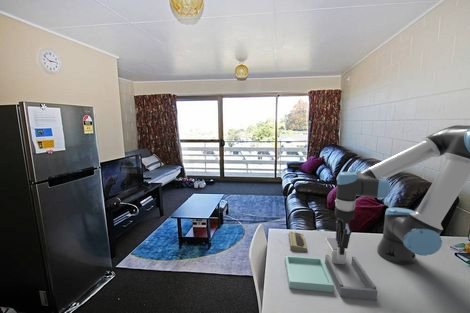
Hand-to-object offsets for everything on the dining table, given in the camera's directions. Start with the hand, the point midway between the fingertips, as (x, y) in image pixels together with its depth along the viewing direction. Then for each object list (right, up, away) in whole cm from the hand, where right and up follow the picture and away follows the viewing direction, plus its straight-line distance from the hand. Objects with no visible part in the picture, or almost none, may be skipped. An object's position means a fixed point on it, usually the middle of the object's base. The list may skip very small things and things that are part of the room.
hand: (340, 259), depth 106 cm
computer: (-14, 0, +19) cm, 24 cm away
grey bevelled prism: (+1, -2, +8) cm, 8 cm away
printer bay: (-1, -4, -9) cm, 10 cm away
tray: (-17, -3, -7) cm, 18 cm away
